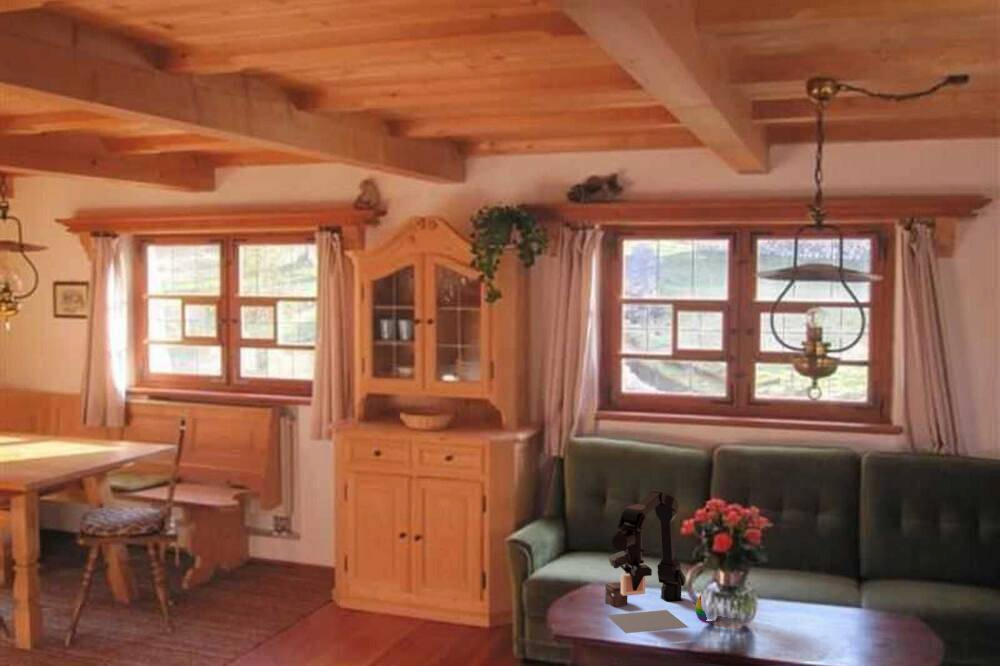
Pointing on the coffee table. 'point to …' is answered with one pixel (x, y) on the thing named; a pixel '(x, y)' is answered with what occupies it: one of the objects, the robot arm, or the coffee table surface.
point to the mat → (646, 621)
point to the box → (615, 595)
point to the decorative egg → (700, 610)
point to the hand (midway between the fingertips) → (632, 589)
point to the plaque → (627, 585)
